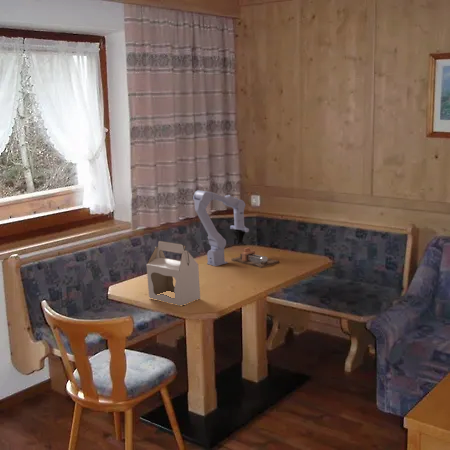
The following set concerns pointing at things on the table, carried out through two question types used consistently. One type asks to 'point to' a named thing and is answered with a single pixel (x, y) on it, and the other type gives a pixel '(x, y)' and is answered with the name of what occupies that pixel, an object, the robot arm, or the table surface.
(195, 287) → the gable box
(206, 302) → the table surface
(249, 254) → the tongs arm
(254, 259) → the base
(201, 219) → the robot arm
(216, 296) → the table surface
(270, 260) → the walnut board
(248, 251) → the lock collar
